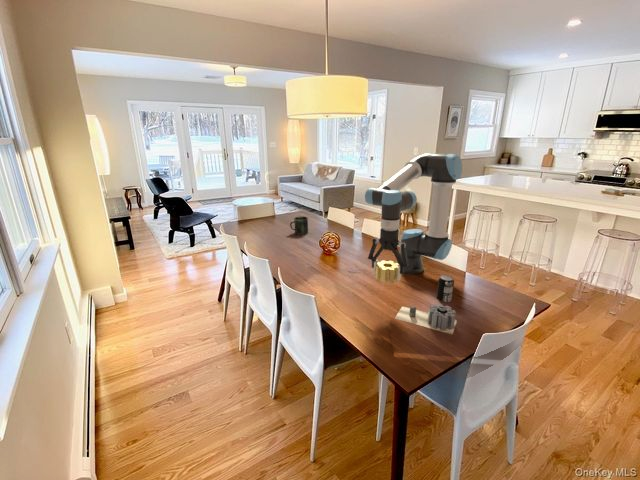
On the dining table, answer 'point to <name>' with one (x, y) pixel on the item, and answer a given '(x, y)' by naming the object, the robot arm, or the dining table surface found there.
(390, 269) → the brass gear
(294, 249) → the dining table surface
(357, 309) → the dining table surface
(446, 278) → the beverage can
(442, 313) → the gear
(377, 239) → the robot arm
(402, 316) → the gear board
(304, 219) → the mug
